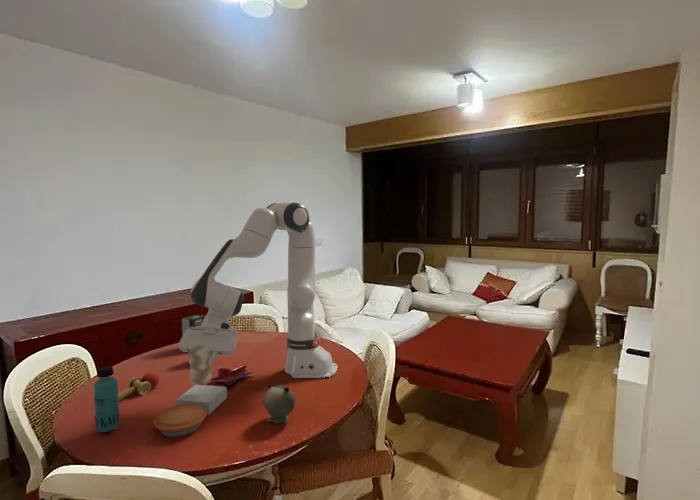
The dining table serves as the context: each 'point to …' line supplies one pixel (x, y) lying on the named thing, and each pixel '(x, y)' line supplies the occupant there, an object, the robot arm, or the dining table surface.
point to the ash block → (200, 365)
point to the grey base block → (204, 396)
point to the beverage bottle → (106, 400)
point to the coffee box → (192, 322)
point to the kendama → (140, 385)
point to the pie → (180, 419)
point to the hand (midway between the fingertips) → (199, 364)
